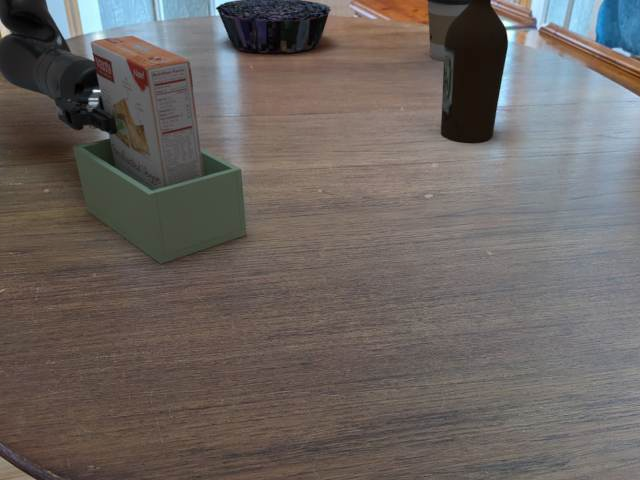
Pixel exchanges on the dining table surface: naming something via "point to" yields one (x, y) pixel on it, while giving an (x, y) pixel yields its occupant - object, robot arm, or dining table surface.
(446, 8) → the coffee cup
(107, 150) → the bin
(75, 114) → the robot arm
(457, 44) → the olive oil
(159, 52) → the cracker box
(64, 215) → the dining table surface
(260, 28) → the decorative bowl
